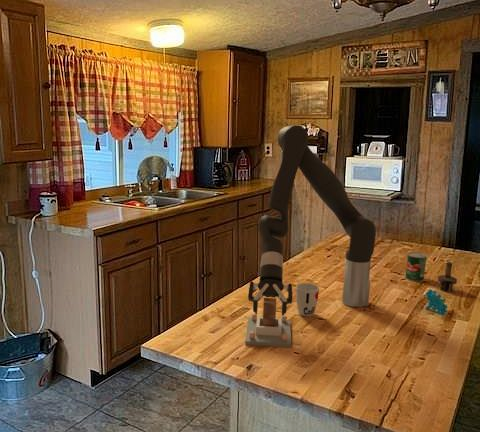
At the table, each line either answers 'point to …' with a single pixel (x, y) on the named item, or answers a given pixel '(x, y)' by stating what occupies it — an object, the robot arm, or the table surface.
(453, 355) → the table surface
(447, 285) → the industrial component
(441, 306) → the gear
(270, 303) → the brown block
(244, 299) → the table surface
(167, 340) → the table surface
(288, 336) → the housing plate
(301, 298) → the cup
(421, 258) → the canned tomato
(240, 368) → the table surface
